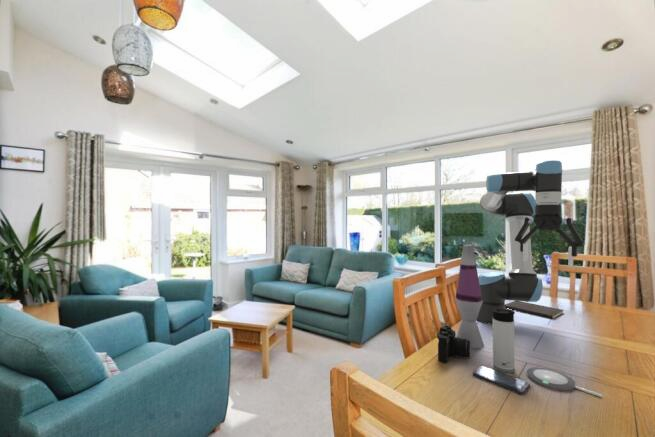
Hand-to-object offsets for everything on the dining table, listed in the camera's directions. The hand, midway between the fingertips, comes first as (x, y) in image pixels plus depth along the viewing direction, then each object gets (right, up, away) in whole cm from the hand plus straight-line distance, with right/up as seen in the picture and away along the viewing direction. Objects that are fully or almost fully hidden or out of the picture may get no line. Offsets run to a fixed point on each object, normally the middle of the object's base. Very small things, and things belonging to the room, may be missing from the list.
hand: (546, 263), depth 106 cm
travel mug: (-19, -35, -7) cm, 40 cm away
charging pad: (-8, -34, -16) cm, 39 cm away
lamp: (-21, -35, +14) cm, 43 cm away
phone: (-25, -35, -14) cm, 45 cm away
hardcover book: (+33, -35, +55) cm, 73 cm away
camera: (-33, -35, +2) cm, 48 cm away
